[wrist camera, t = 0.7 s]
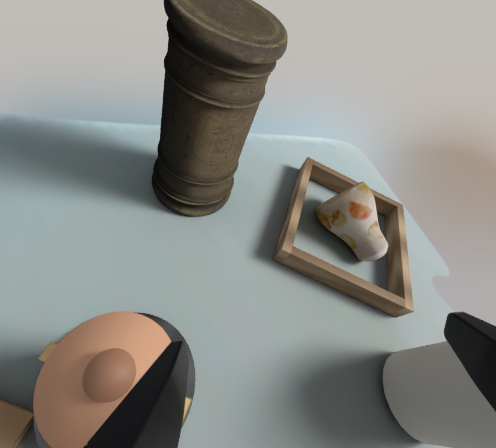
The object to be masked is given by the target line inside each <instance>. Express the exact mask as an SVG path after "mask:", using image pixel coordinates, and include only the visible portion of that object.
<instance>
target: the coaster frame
mask: <svg viewBox="0 0 496 448" xmlns="http://www.w3.org/2000/svg"><path fill="white" fill-rule="evenodd" d="M309 179H311V180H313V181H315V182H317V183H319V184H321V185H323V186H325V187H327V188H329V189H331V190H333V191H335V192H337V193H339V194H340V193H342V192H343V191H345V190H347V189H349V188H351V187H353V186H354V185H356V184H358V182H356V181H354V180H352V179H350V178H348V177H346V176H344V175H342V174H340V173H338V172H336V171H334V170H332V169H330V168H328V167H326V166H324V165H322V164H320V163H318V162H317V161H315V160H313V159H311V158H309V157H307V159H306V160H305V162H304V163H303V165H302V166H301V168H300V170H299V173H298V176H297V180H296V183H295V187H294V190H293V193H292V197H291V200H290V203H289V207H288V210H287V214H286V217H285V220H284V224H283V227H282V231H281V234H280V237H279V241H278V244H277V248H276V251H275V254H274V258H273V260H275V261H277V262H279V263H281V264H283V265H285V266H287V267H290V268H292V269H294V270H296V271H298V272H300V273H302V274H304V275H307V276H309V277H311V278H313V279H315V280H317V281H319V282H322V283H324V284H326V285H328V286H330V287H332V288H334V289H337V290H339V291H341V292H343V293H345V294H347V295H349V296H351V297H354V298H356V299H358V300H360V301H362V302H364V303H366V304H369V305H371V306H373V307H375V308H377V309H379V310H381V311H384V312H386V313H388V314H390V315H392V316H394V317H399V316H402V315H405V314H408V313H411V312H414V309H413V299H412V289H411V280H410V270H409V260H408V251H407V241H406V231H405V221H404V212H403V205H402V204H400V203H398V202H396V201H394V200H392V199H390V198H388V197H386V196H384V195H382V194H380V193H378V192H376V191H374V190H372V189H370V190H371V191H372V193H373V196H374V199H375V203H376V210H377V212H378V213H380V214H382V215H384V216H385V229H386V241H387V242H388V248H387V252H386V255H387V280H388V291H386V290H384V289H382V288H380V287H378V286H376V285H374V284H372V283H369V282H367V281H365V280H363V279H361V278H359V277H357V276H355V275H353V274H351V273H348V272H346V271H344V270H342V269H340V268H338V267H336V266H334V265H332V264H329V263H327V262H325V261H323V260H321V259H319V258H317V257H315V256H313V255H311V254H308V253H306V252H304V251H302V250H300V249H298V248H296V247H294V246H293V242H294V238H295V234H296V230H297V226H298V222H299V218H300V214H301V210H302V206H303V202H304V198H305V194H306V190H307V186H308V182H309Z"/></svg>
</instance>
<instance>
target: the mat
mask: <svg viewBox="0 0 496 448" xmlns="http://www.w3.org/2000/svg"><path fill="white" fill-rule="evenodd" d="M33 422H34V412H33V411H30V410H28V409H25V408H23V407H20V406H18V405H15V404H12V403H10V402H7V401H5V400H2V399H0V448H16V447H17V445H18V444H19V442H20V441H21V439H22V438H23V437H24V435H25V434H26V432H27V431H28V429H29V428H30V426H31V425H32V423H33Z"/></svg>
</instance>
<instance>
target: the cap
mask: <svg viewBox="0 0 496 448" xmlns="http://www.w3.org/2000/svg"><path fill="white" fill-rule="evenodd" d="M170 343H171V340H170V338H169V337H168V335H167V333H166V332H165V331H164V330H163V328H162V327H161V326H160V325H159V324H157V323H156V322H155V321H153V320H152V319H150V318H148V317H146V316H143V315H141V314H137V313H132V312H113V313H107V314H104V315H100V316H97V317H95V318H92V319H90V320H88V321H86V322H84V323H82V324H81V325H79V326H78V327H76V328H75V329H73V330H72V331H71V332H70V333H68V334H67V335H66V336H65V337H64V338H63V339H62V340H61V341H60V342H59V343H58V344H56V343H53V342H50V344H49V345H48V346H47V347H46V349H45V350H44V351H43V353H42V354H41V355H40V357H39V358H38V359H39V360H41V361H43V362H45V363H44V365H43V367H42V369H41V371H40V373H39V376H38V379H37V382H36V386H35V390H34V398H33V411H34V416H35V421H36V424H37V427H38V430H39V432H40V433H41V435H42V437H43V438H44V440H45V441H46V442H47V443H48V444H49V445H50V446H51V447H52V448H83V447H84V446H85V445H87V442H88V441H89V440H90V438H91V437H92V436H93V435H94V434H95V432H96V431H97V430H98V429H99V428H100V426H101V425H102V424H103V423H104V422H105V420H106V419H107V418H108V417H109V416H110V414H111V413H112V412H113V411H114V410H115V408H116V407H117V406H118V405H119V404H120V402H121V401H122V400H123V399H124V398H125V396H126V395H127V394H128V393H129V392H130V390H131V389H132V388H133V387H134V386H135V384H136V383H137V382H138V381H139V380H140V378H141V377H142V376H143V375H144V374H145V372H146V371H147V370H148V369H149V368H150V366H151V365H152V364H153V363H154V362H155V360H156V359H157V358H158V357H159V356H160V354H161V353H162V352H163V351H164V350H165V348H166V347H167V346H168V345H169V344H170ZM189 402H190V399H187V398H186V400H185V409H184V416H185V413H186V410H187V408H188V405H189ZM183 418H184V417H183Z"/></svg>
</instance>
